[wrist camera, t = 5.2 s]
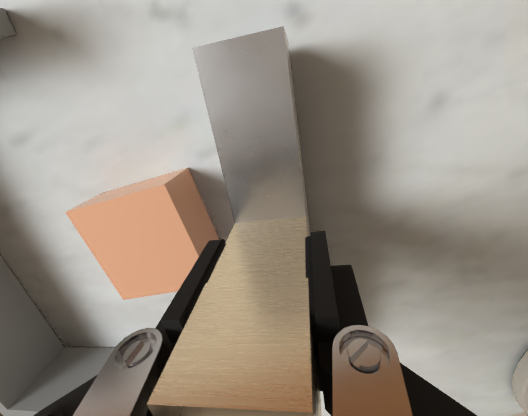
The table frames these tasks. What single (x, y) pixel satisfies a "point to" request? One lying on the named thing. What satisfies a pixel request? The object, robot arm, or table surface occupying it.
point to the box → (35, 343)
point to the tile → (146, 233)
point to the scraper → (250, 250)
